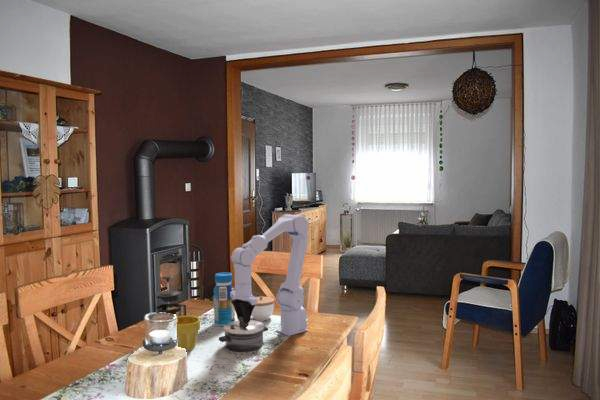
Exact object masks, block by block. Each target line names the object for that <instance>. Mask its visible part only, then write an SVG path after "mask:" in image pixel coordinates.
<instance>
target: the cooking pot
mask: <svg viewBox="0 0 600 400" xmlns="http://www.w3.org/2000/svg"><path fill="white" fill-rule="evenodd" d="M267 331H269V327H267V326H265V325H264V329H263V330H262V331H260V332H258V333H255V334H249V335H234V334H229V333H226V332H225V331H224V335H223V336H219V337H218V341H220V343H225V349H227V350H229V351H231V352H239V353H247V352H248V353H249V352H253V351H257V350H259V349H261V348H262V347H263V345H264V332H267Z"/></svg>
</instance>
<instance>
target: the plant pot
mask: <svg viewBox="0 0 600 400" xmlns="http://www.w3.org/2000/svg"><path fill="white" fill-rule="evenodd" d="M176 317H177V319H178V322H177V339H178V347H181V348H185V349H186V350H187V351H190V350H191V351H192V350H194V349H195V348H196V343H197V338H198V332H199V330H200V328H201V318H200V317H199V316H195V315H186V316H183V315H181V316H180V317H179V316H176Z"/></svg>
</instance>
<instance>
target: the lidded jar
mask: <svg viewBox="0 0 600 400" xmlns="http://www.w3.org/2000/svg"><path fill="white" fill-rule="evenodd" d="M254 297H255V298H257V304H256V305H255V307H254V309H253V311H252V314H251V318H253V320H254V321H259V322H261V321H262V322H263V321H267V320H269V319H270V317H271V316H272V315H273V313H274V309H275V299H274V297H269V296H263V295H260V296H254Z"/></svg>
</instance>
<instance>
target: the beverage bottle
mask: <svg viewBox="0 0 600 400" xmlns="http://www.w3.org/2000/svg"><path fill="white" fill-rule="evenodd" d="M214 282H215V283H216V284H215V286H214V288H213V297H212V300H213V314H214V317H213V318H214V321H213V323H214V325H215V326H218V327H224V325H226V324H227V323H230V322H233V321H236V318H235V315H236V311H235V308H234V306H233V304H232V303H231V301H232V300H235V299H233V298H232V297H230V292H231V291H235V287H234V286H233V284H232V282H233V274H232V273H231V272H227V271H226V272H225V271H223V272H218V273H215V275H214Z"/></svg>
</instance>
